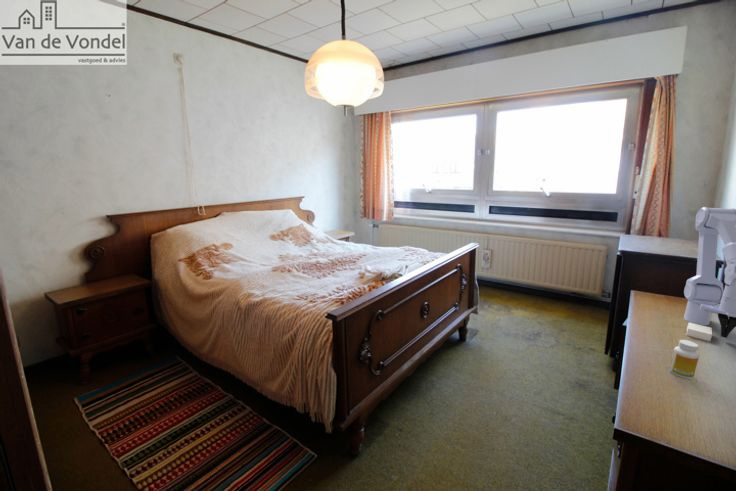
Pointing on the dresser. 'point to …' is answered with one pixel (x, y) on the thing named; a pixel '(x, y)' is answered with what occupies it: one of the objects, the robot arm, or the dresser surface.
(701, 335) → the cream tile
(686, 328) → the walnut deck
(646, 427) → the dresser surface
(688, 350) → the supplement bottle
